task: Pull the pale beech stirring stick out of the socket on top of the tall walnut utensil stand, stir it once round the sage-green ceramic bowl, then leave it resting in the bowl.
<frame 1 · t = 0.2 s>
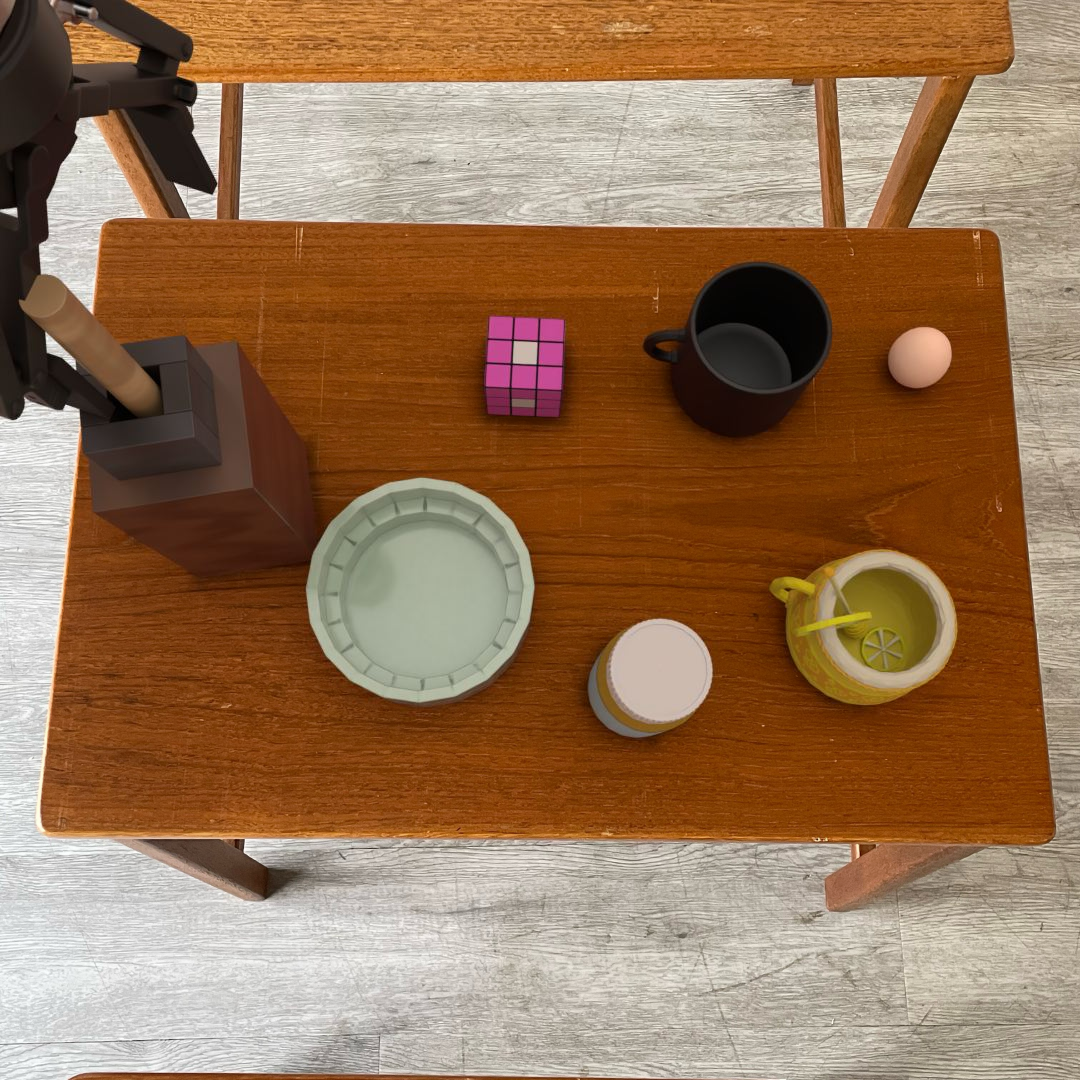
hand: (142, 291, 55), 25 cm above the table, tool pointing down, fingers open, 13 cm apart
mug: (716, 377, 82), on the table
stirring stick: (167, 422, 59), point 20 cm above the table, touching utensil stand
utensil stand: (253, 511, 79), on the table
puzzle toy: (524, 382, 82), on the table
bottle: (634, 689, 76), on the table
mug 2: (838, 627, 78), on the table
bowl: (428, 601, 77), on the table
egg: (905, 372, 82), on the table
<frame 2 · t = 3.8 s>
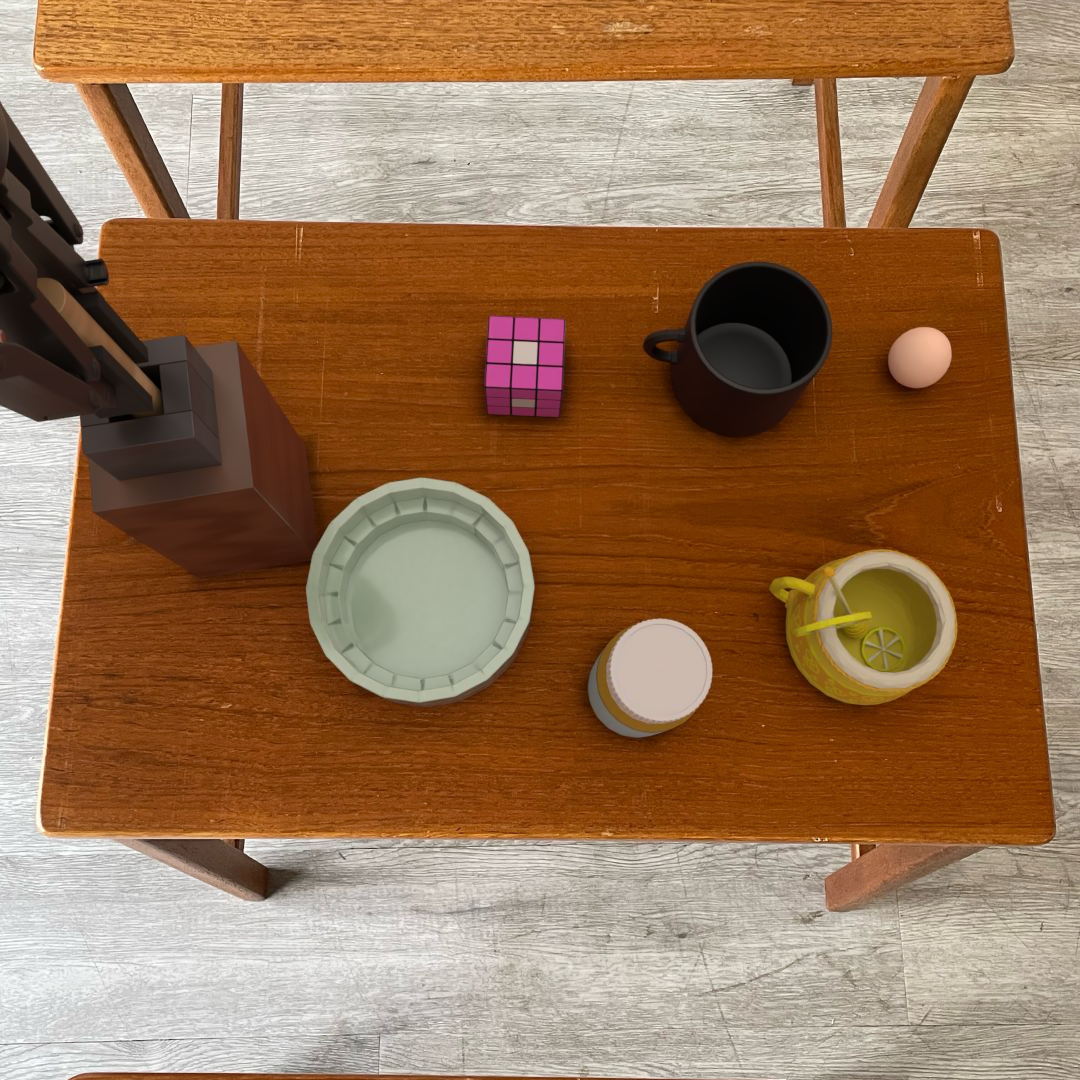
hand: (123, 383, 53), 26 cm above the table, tool pointing down, fingers closed on stirring stick, 2 cm apart
stirring stick: (167, 424, 59), point 20 cm above the table, touching gripper
everything else where it was.
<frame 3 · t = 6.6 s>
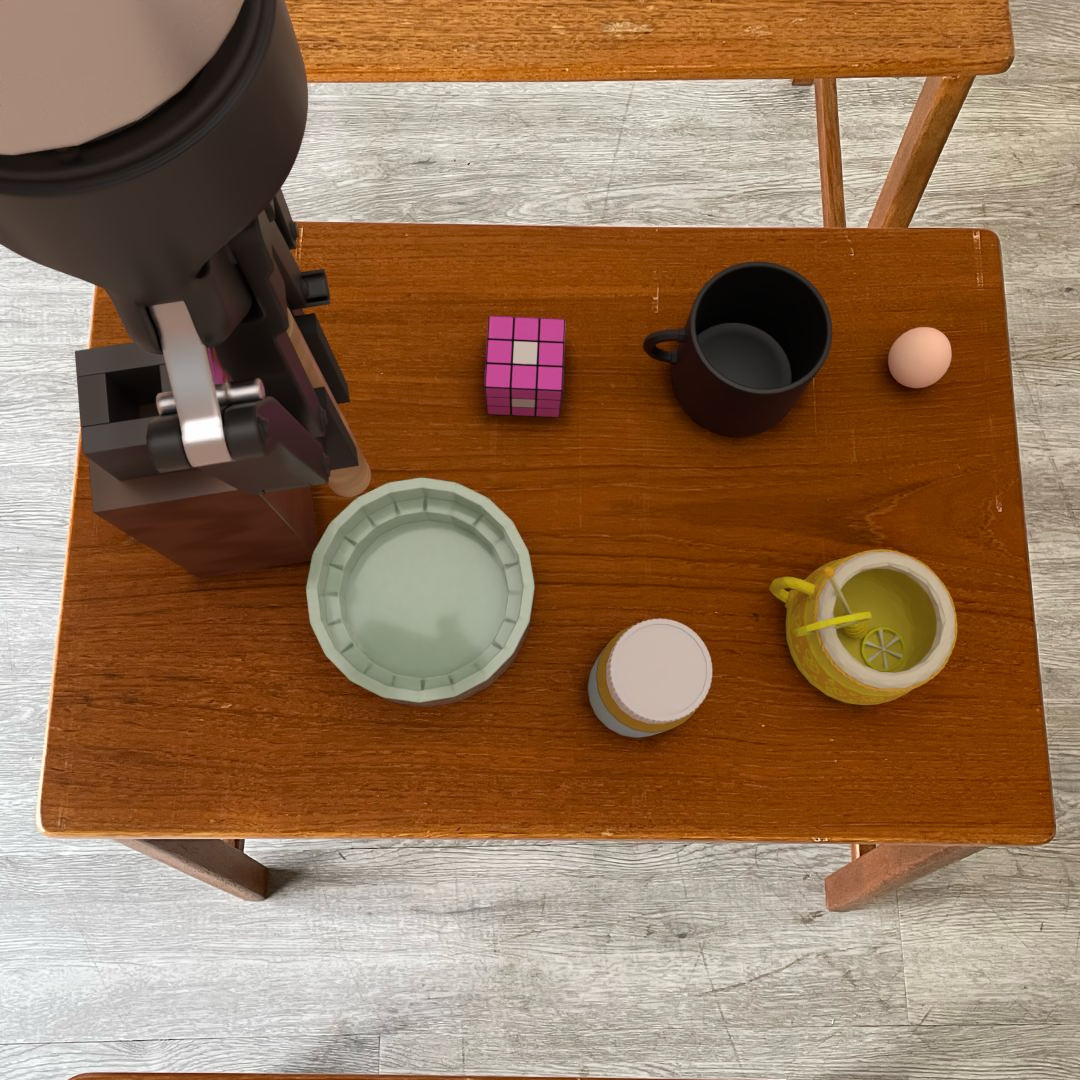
hand: (318, 429, 41), 38 cm above the table, tool pointing down, fingers closed on stirring stick, 2 cm apart
stirring stick: (349, 476, 47), point 31 cm above the table, touching gripper
everything else where it was.
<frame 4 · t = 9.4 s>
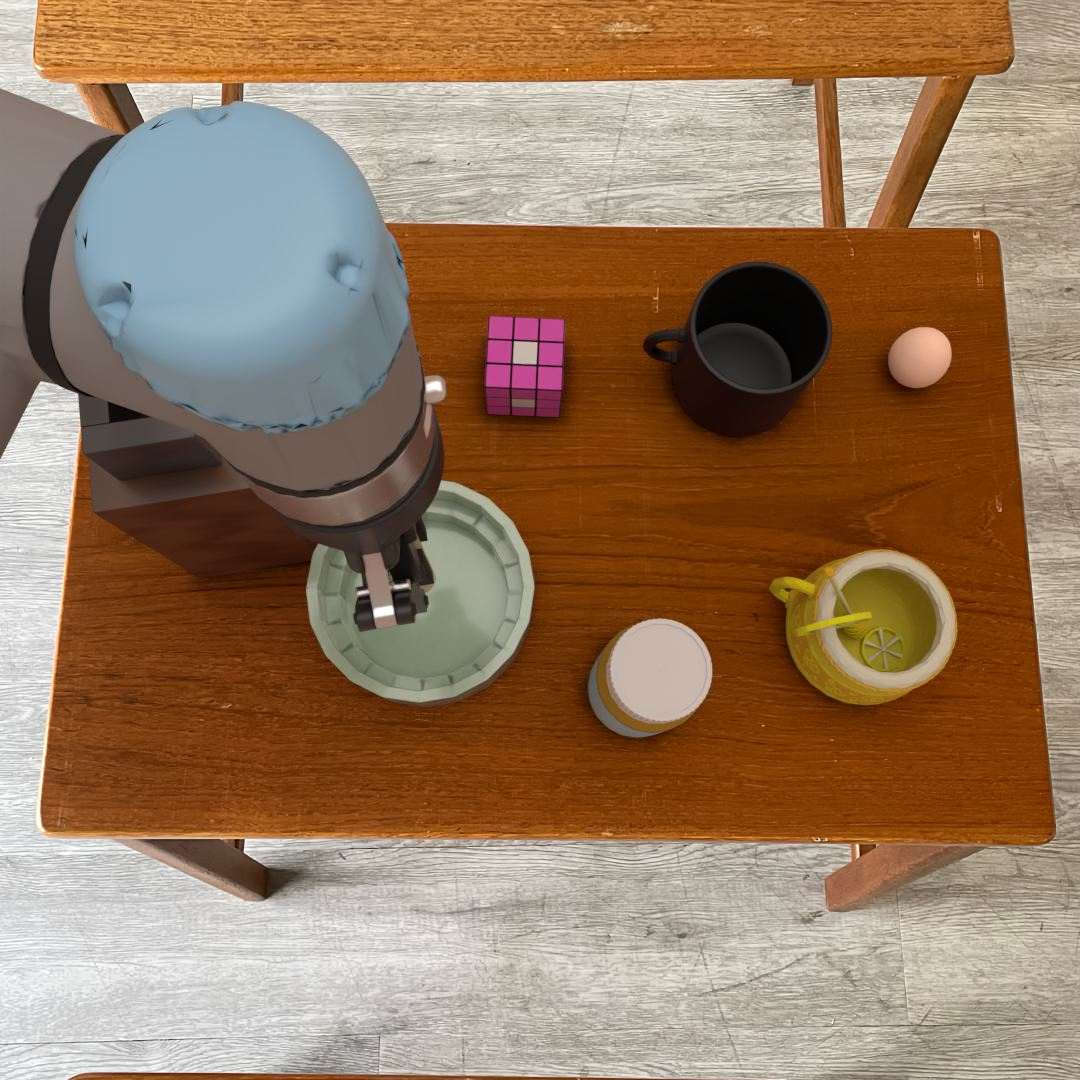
hand: (407, 559, 62), 16 cm above the table, tool pointing down, fingers closed on stirring stick, 2 cm apart
stirring stick: (420, 579, 68), point 9 cm above the table, touching gripper
everything else where it was.
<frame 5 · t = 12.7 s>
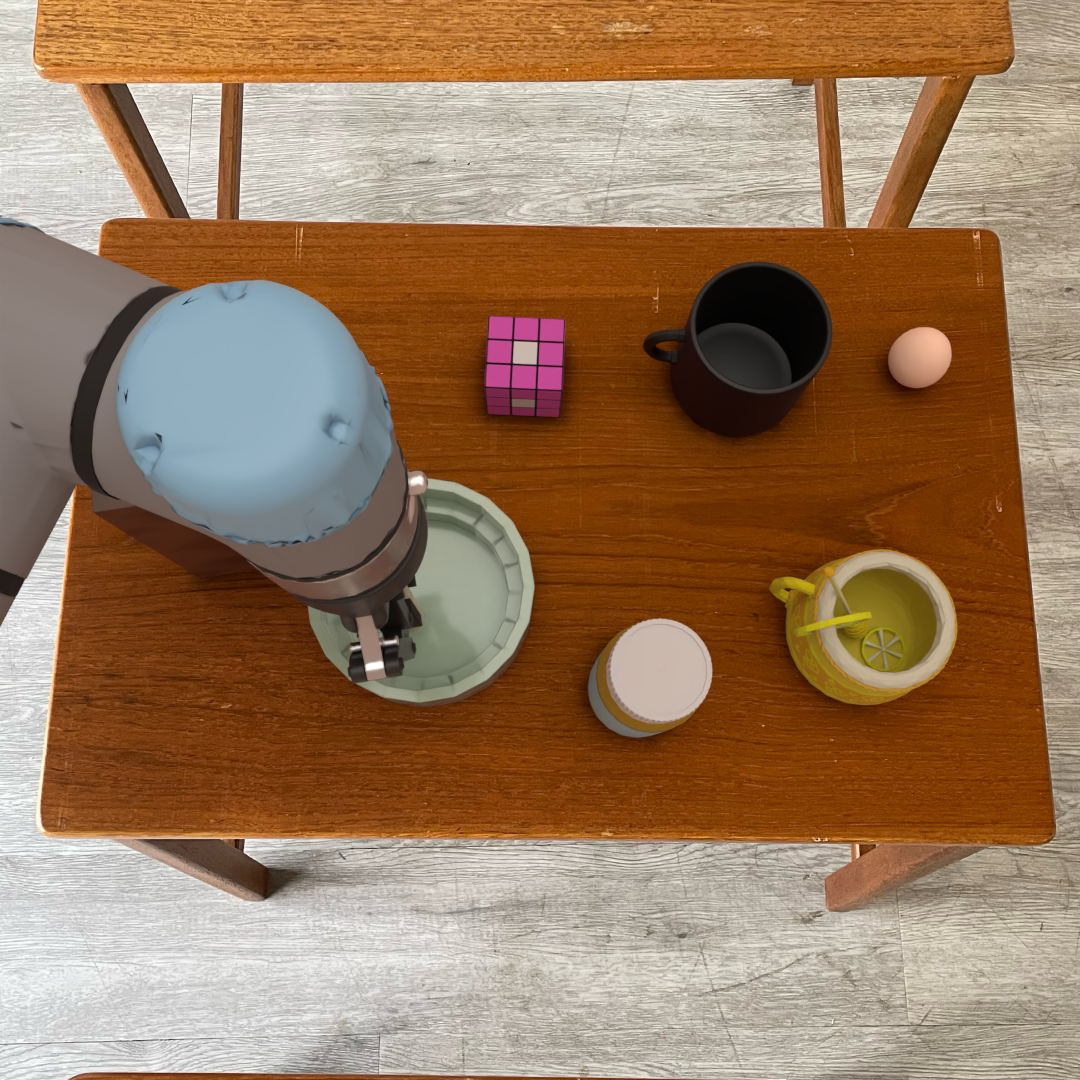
hand: (398, 603, 68), 10 cm above the table, tool pointing down, fingers closed on stirring stick, 2 cm apart
stirring stick: (410, 618, 74), point 3 cm above the table, touching gripper
everything else where it was.
when the fingers open (7 cm above the table, at t = 15.1 s): stirring stick stays where it is, resting on bowl.
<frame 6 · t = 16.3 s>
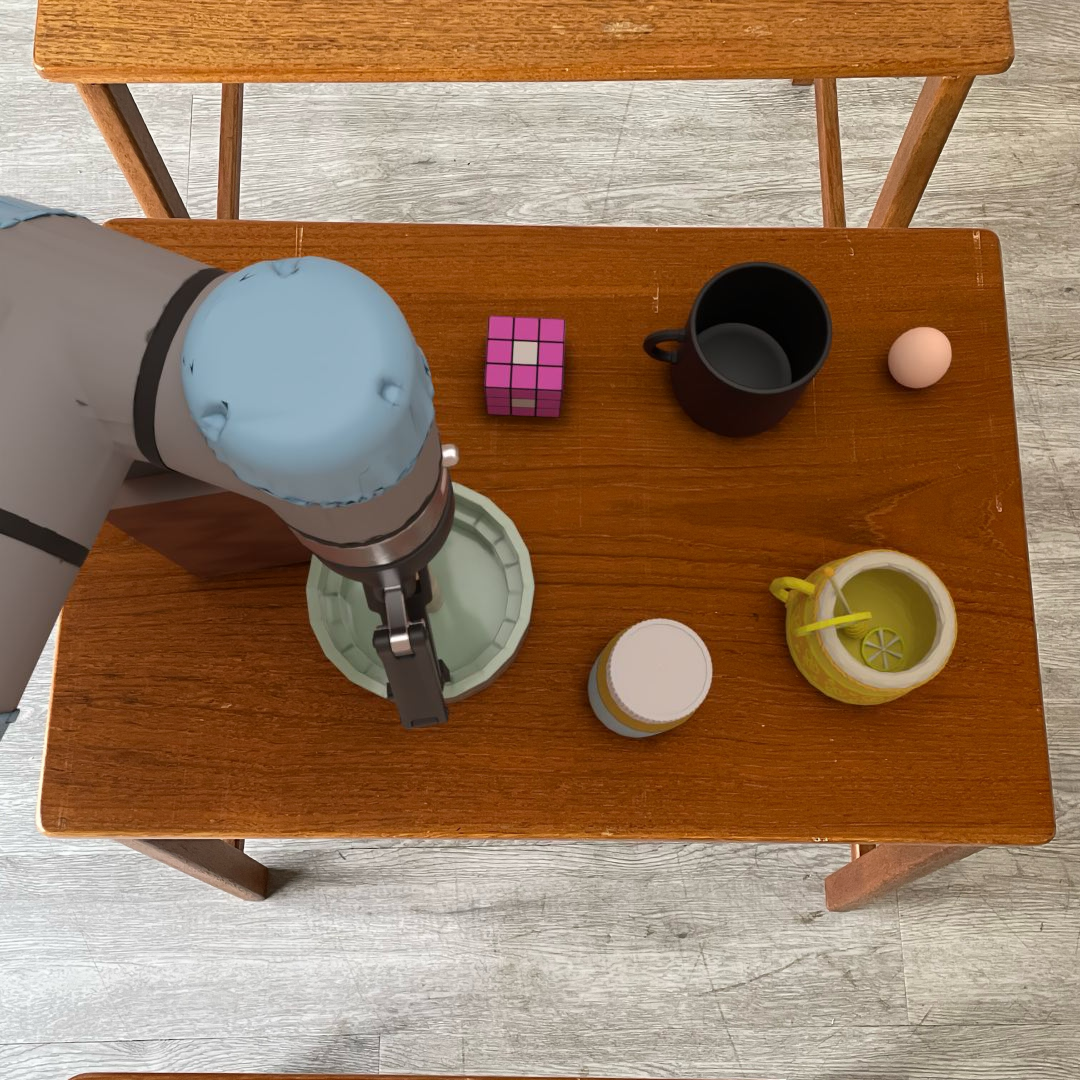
hand: (413, 575, 68), 10 cm above the table, tool pointing down, fingers open, 13 cm apart
stirring stick: (429, 599, 77), point 1 cm above the table, touching bowl
everything else where it was.
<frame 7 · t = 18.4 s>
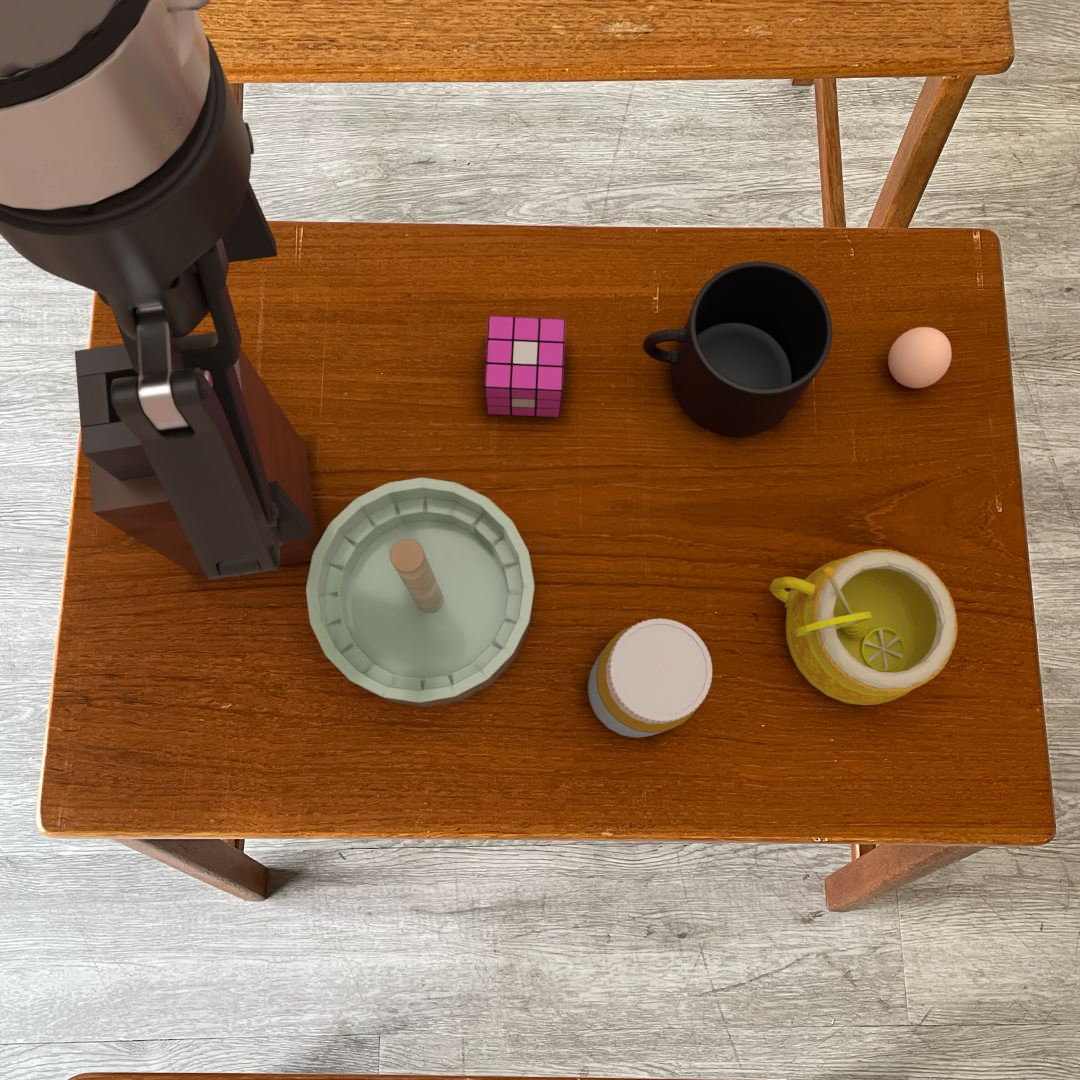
hand: (263, 389, 47), 32 cm above the table, tool pointing down, fingers open, 13 cm apart
nothing on the table moved.
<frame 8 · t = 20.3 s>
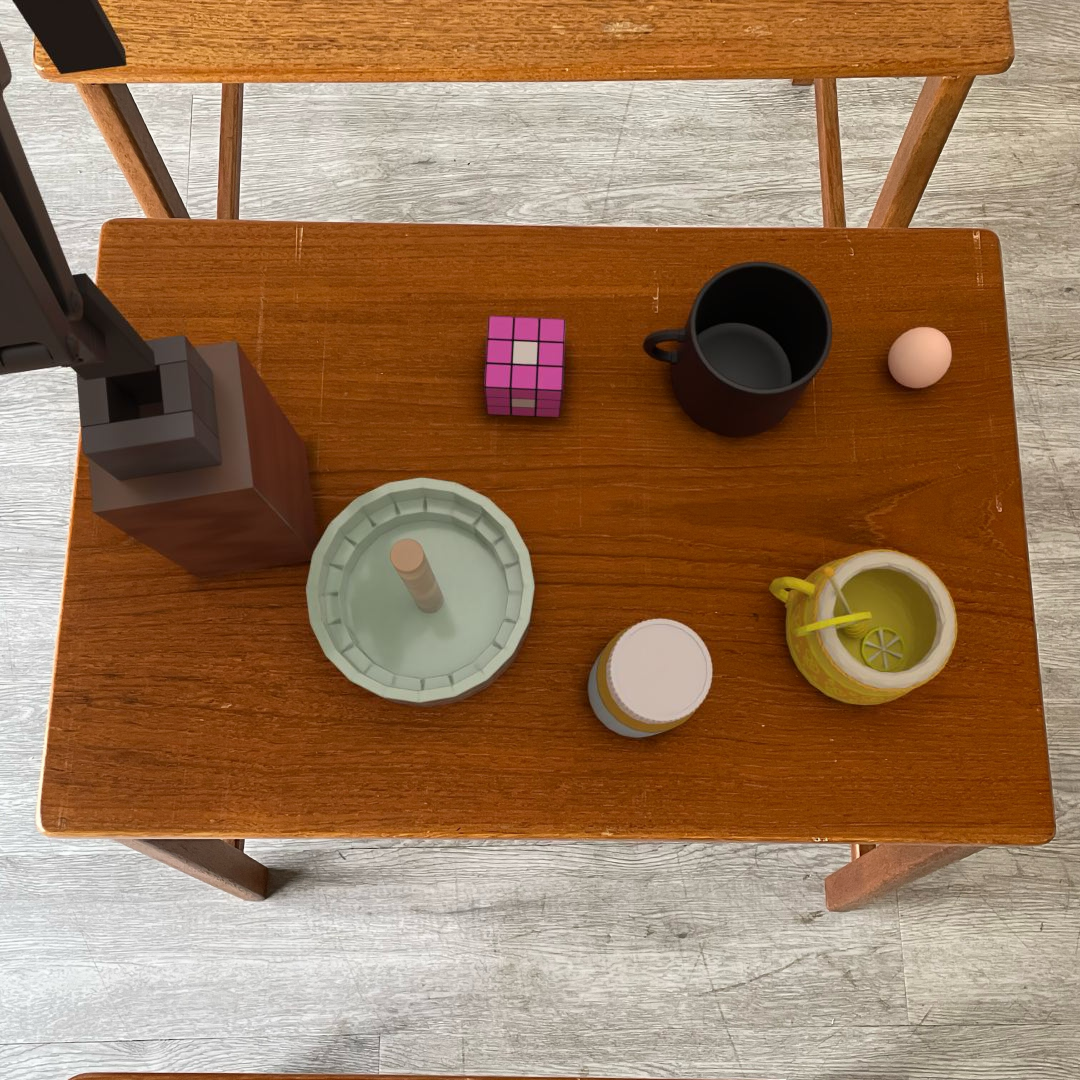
hand: (106, 209, 42), 39 cm above the table, tool pointing down, fingers open, 13 cm apart
nothing on the table moved.
at the end: stirring stick inside the target area in the bowl (0.2 cm from its centre), point 0.8 cm above the bowl's base; the gripper is holding nothing; stirring stick moved 24.5 cm from its start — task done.
